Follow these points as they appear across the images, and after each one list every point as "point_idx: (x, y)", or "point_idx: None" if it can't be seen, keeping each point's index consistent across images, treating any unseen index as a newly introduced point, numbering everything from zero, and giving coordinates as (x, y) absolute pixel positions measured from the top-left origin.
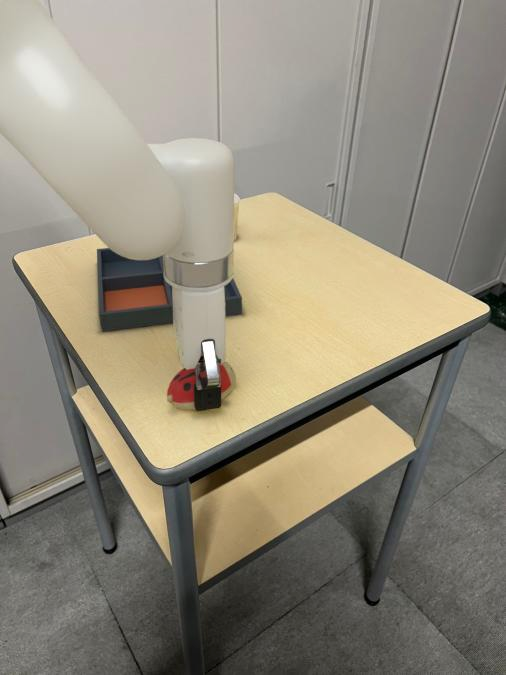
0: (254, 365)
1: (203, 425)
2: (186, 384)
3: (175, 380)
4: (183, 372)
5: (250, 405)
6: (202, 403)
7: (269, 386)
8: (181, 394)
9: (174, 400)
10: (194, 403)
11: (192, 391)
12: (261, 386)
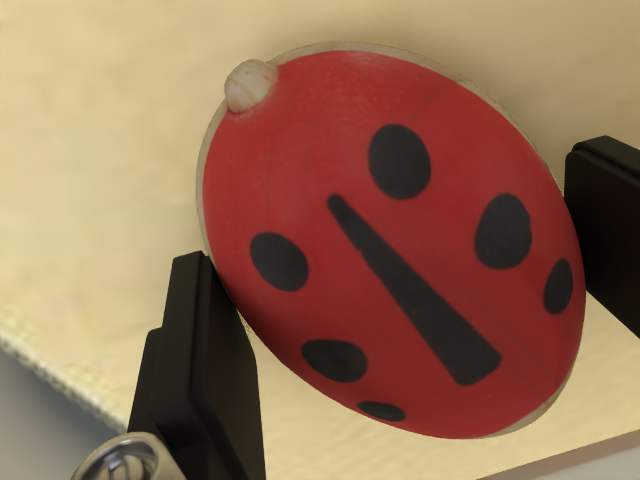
0: (546, 411)
1: (134, 267)
2: (293, 262)
3: (361, 156)
4: (440, 221)
5: (295, 428)
6: (143, 355)
7: (408, 470)
8: (234, 202)
9: (221, 128)
10: (189, 274)
11: (253, 285)
12: (411, 447)
